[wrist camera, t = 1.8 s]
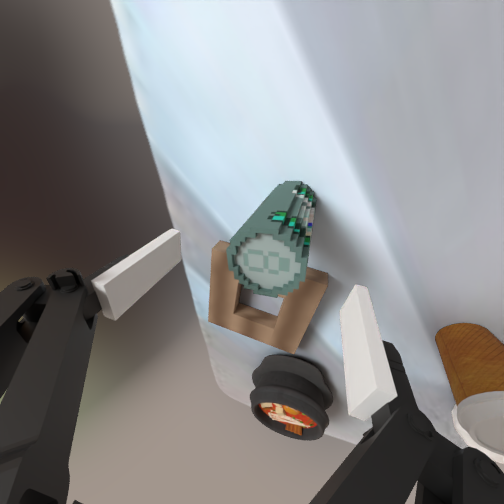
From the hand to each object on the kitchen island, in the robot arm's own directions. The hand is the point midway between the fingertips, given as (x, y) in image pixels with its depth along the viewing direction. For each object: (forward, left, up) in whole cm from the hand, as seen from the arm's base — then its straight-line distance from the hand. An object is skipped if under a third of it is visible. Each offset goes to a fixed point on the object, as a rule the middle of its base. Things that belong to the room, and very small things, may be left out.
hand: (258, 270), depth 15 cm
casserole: (-11, +42, -16) cm, 46 cm away
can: (0, 0, -16) cm, 16 cm away
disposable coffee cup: (-29, +13, -16) cm, 36 cm away
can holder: (+1, +18, -16) cm, 24 cm away
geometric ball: (-39, +26, -16) cm, 50 cm away
